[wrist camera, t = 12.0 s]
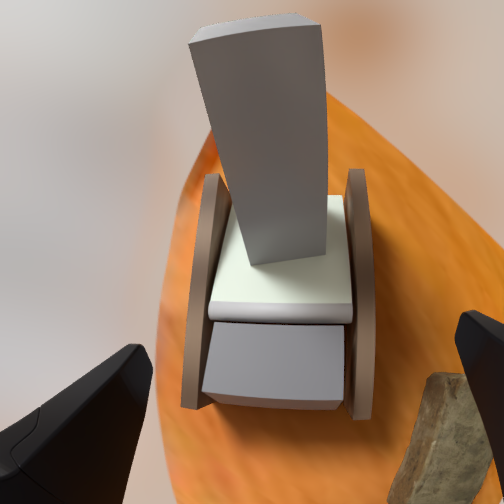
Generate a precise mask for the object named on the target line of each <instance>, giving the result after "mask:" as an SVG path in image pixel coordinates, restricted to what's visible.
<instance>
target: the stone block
mask: <svg viewBox="0 0 504 504" xmlns="http://www.w3.org/2000/svg"><path fill="white" fill-rule="evenodd" d="M492 459H493V454H492V450H491V447H490V444H489V440H488V437H487V434H486V431H485V428H484V425H483V422H482V419H481V416H480V414H479V411H478V408H477V405H476V403H475V400H474V398H473V395H472V392H471V390H470V387H469V384H468V381H467V378H466V375H465V374H457V373H446V372H439V373H436V372H435V373H433V374H432V375H431V376H430V377H429V378H427V382H426V387H425V390H424V393H423V397H422V402H421V405H420V409H419V413H418V417H417V421H416V423H415V426H414V430H413V433H412V437H411V442H410V445H409V447H408V448H407V450H406V453H405V457H404V459H403V462H402V464H401V466H400V468H399V470H398V472H397V474H396V476H395V478H394V481H393V483H392V486H391V489H390V492H389V495H388V498H387V503H388V504H471V503H472V501H473V499H474V498H475V496H476V494H477V493H478V492H479V490H480V489H481V486H482V484H483V481H484V479H485V476H486V473H487V471H488V468H489V466H490V464H491V461H492Z"/></svg>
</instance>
